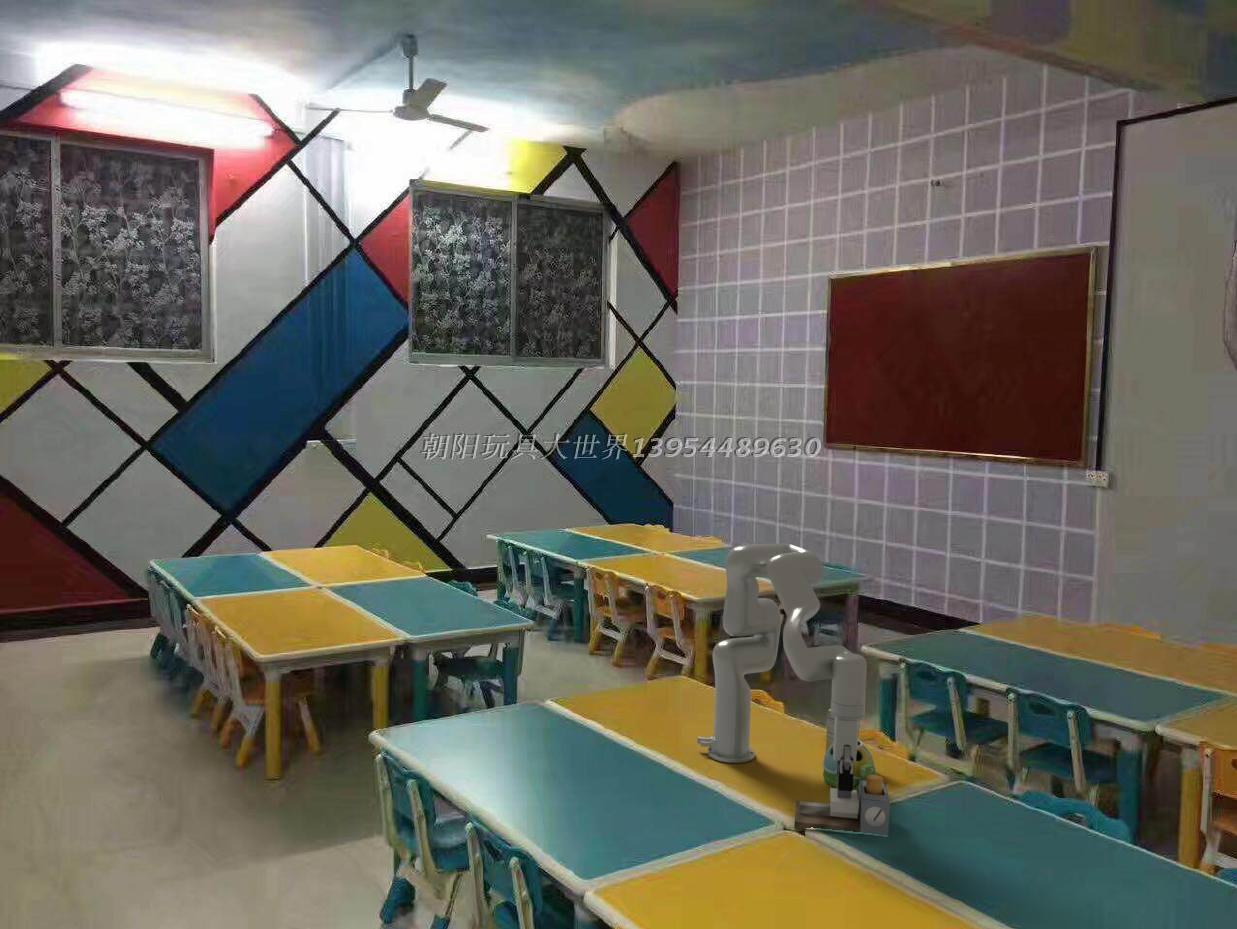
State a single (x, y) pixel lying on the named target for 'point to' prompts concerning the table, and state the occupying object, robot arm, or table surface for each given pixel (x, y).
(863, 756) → the turtle holder
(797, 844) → the table surface
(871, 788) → the button
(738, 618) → the robot arm
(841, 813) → the carriage
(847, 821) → the rail board
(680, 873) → the table surface
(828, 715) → the candy box
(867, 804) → the gauge cabinet
